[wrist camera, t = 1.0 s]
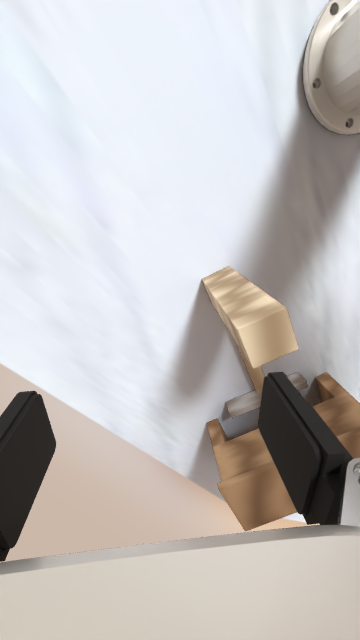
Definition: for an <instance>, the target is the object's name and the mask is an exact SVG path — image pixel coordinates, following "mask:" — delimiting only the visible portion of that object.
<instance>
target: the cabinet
mask: <svg viewBox="0 0 360 640" xmlns="http://www.w3.org/2000/svg"><path fill="white" fill-rule="evenodd" d="M315 378H316V381H317V385H318V388H319V392H320V396H321V399H322V403H319V404H317V405H314V406H312V407H313V408H314V409H315V410H316V412H317V413H318V414H319V415H320V417H321V418H322V419H323V421H324V422H325V423H326V424H327V426H328V427H329V428H330V429H331V431H332V432H333V433H334V434H335V436H336V437H337V438H338V439H339V441H340V442H341V443H342V445H343V446H344V447H345V448H346V450H347V451H348V452H349V453H350V455H351V456H352V457H353V458H354V459H355V458H360V403H359V402H358V401H357V400H356V399H355V398H354V397H353V396H351V395H350V394H349V393H348V392H347V391H346V390H345V389H344V388H343V387H342V386H341V385H340V384H339V383H338V382H336V381H335V380H334V379H333V378H332V377H331V376H330V375H329V374H328V373H324V374H322V375H320V376H317V377H315ZM207 426H208V430H209V434H210V438H211V442H212V446H213V450H214V454H215V458H216V462H217V466H218V470H219V474H220V477H221V481H222V482H220V483H218V488H219V491H220V492H221V494H222V495H223V497H224V499H225V500H226V502H227V503H228V505H229V507H230V508H231V510H232V511H233V513H234V514H235V516H236V517H237V519H238V521H239V522H240V524H241V525H242V527H243V529H244V530H245V531H248V530H251V529H253V528H256V527H259V526H261V525H264V524H266V523H269V522H272V521H275V520H277V519H280V518H283V517H285V516H288V515H291V514H293V513H296V512H297V511H296V509H295V507H294V504H293V502H292V500H291V498H290V496H289V494H288V492H287V489H286V487H285V485H284V483H283V481H282V479H281V476H280V474H279V472H278V470H277V468H276V466H275V464H274V461H273V459H272V457H271V455H270V453H269V451H268V449H267V446H266V444H265V442H264V440H263V438H262V436H261V433H260V431H259V428H258V429H256V430H253V431H251V432H248V433H246V434H244V435H241V436H239V437H236V438H234V439H231V440H228V438H227V436H226V434H225V432H224V430H223V428H222V427H221V425H220V423H219V421H218V419H214V420H212V421H210V422H207Z"/></svg>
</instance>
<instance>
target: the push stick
mask: <svg viewBox="0 0 360 640" xmlns="http://www.w3.org/2000/svg"><path fill="white" fill-rule="evenodd" d="M202 281H203V284H204V286H205V288H206V291H207V293H208V295H209V298H210V300H211V302H212V304H213V306H214V308H215V309H216V311H217V312H218V314H219V315H220V317H221V319H222V320H223V322H224V323H225V325H226V326H227V328H228V330H229V331H230V333H231V334H232V336H233V337H234V339H235V341H236V344H237V346H238V349H239V351H240V353H241V356H242V358H243V361H244V363H245V365H246V368H247V370H248V373H249V375H250V378H251V380H252V382H253V385H254V387H255V390H253V391H251V392H249V393H246V394H244V395H241V396H239V397H237V398H234V399H232V400H230V401H227V402H225V403H226V406H227V408H228V411H229V414H230V416H231V418H235V417H237V416H239V415H242V414H244V413H247V412H249V411H251V410H254V409H256V408H259V407H260V405H261V397H262V389H263V381H264V377H265V376H264V373H263V371H262V368H261V365H263V364H265V363H268V362H270V361H272V360H275V359H277V358H279V357H282V356H284V355H286V354H289V353H291V352H293V351H296V350H298V349H299V348H298V345H297V341H296V338H295V335H294V331H293V328H292V324H291V321H290V318H289V314H288V311H287V308H286V307H284V306H283V305H282V304H280V303H279V302H278V301H276V300H275V299H273V298H272V297H271V296H269V295H268V294H267V293H265V292H264V291H262V290H261V289H260V288H258V287H257V286H256V285H254V284H253V283H251V282H250V281H249V280H247V279H246V278H245V277H243V276H242V275H240V274H239V273H238V272H236V271H235V270H234V269H232V268H231V267H229V266H228V267H226V268H224V269H222V270H220V271H218V272H216V273H213V274H211V275H209V276H207V277H205V278H203V279H202ZM287 378H288V379H289V380H290V381H291V383H292V384H293V385H294V387H295V388H296V389H297V390H298V391H299V390H302V389H304V388H307V387H308V385H307V381H306V380H305V379H304V378H303V377H302V376H301V375H300V374H299V372H296V373H294V374H291V375H289V376H287Z"/></svg>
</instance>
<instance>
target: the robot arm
mask: <svg viewBox="0 0 360 640" xmlns="http://www.w3.org/2000/svg"><path fill="white" fill-rule="evenodd" d="M303 83H304V90H305V95H306V99H307V102H308V105H309V107H310V109H311V111H312V113H313V115H314V116H315V118H316V119H317V120H318V121H319V122H320V123H321V125H323V126H324V127H326V128H327V129H329V130H330V131H333V132H336V133H338V134H347V135H350V134H356V133H360V0H329V1H328V3H327V4H326V5H325V7H324V8H323V10H322V12H321V13H320V15H319V16H318V18H317V20H316V22H315V24H314V27H313V29H312V31H311V34H310V37H309V40H308V44H307V47H306V51H305V58H304V65H303ZM313 86H314V88H313ZM258 427H259V431H260V433H261V436H262V438H263V440H264V442H265V444H266V446H267V449H268V451H269V453H270V455H271V457H272V459H273V461H274V464H275V466H276V468H277V470H278V472H279V474H280V476H281V479H282V481H283V483H284V485H285V487H286V489H287V492H288V494H289V496H290V498H291V500H292V502H293V504H294V507H295V509H296V511H297V512H298V513H299V514H303V516H304V518H305V520H306V522H307V524H308V525H309V524H317V523H319V524H320V525H314V526H304V527H293V528H282V529H271V530H262V531H253V532H244V533H236V534H227V535H218V536H209V537H200V538H192V539H184V540H176V541H168V542H159V543H150V544H142V545H134V546H125V547H117V548H109V549H101V550H93V551H85V552H77V553H69V554H61V555H53V556H45V557H38V558H30V559H22V560H16V561H9V562H1V563H0V640H360V458H355V459H354V458H353V457H352V456H351V455H350V453H349V452H348V451H347V450H346V448H345V447H344V446H343V445H342V443H341V442H340V441H339V439H338V438H337V437H336V436H335V434H334V433H333V432H332V431H331V429H330V428H329V427H328V426H327V424H326V423H325V422H324V421H323V419H322V418H321V417H320V415H319V414H318V413H317V412H316V410H315V409H314V408H313V407H312V405H311V404H310V403H308V402H306V401H305V399H304V398H303V397H302V396H301V394H300V393H299V392H298V390H297V389H296V388H295V387H294V385H293V384H292V383H291V381H290V380H289V379H288V378H287V376H286V375H285V374H284V373H283V372H274V373H269V374H268V376H267V377H264V381H263V389H262V397H261V405H260V412H259V420H258ZM55 448H56V441H55V437H54V434H53V431H52V428H51V425H50V421H49V418H48V415H47V412H46V408H45V406H44V403H43V399H42V396H41V395H40V394H37V392H36V391H27V392H19V393H18V394H17V395H16V396H15V397H14V399H13V400H12V402H11V403H10V404H9V405H8V407H7V408H6V410H5V411H4V412H3V414H2V415H1V416H0V561H5V559H6V557H7V554H8V552H9V549H10V548H13V547H14V546H15V545H16V543H17V541H18V538H19V536H20V534H21V531H22V529H23V526H24V524H25V522H26V519H27V517H28V514H29V512H30V510H31V507H32V504H33V502H34V500H35V497H36V495H37V492H38V490H39V488H40V486H41V483H42V481H43V478H44V476H45V473H46V471H47V469H48V466H49V464H50V461H51V459H52V457H53V454H54V452H55Z"/></svg>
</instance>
